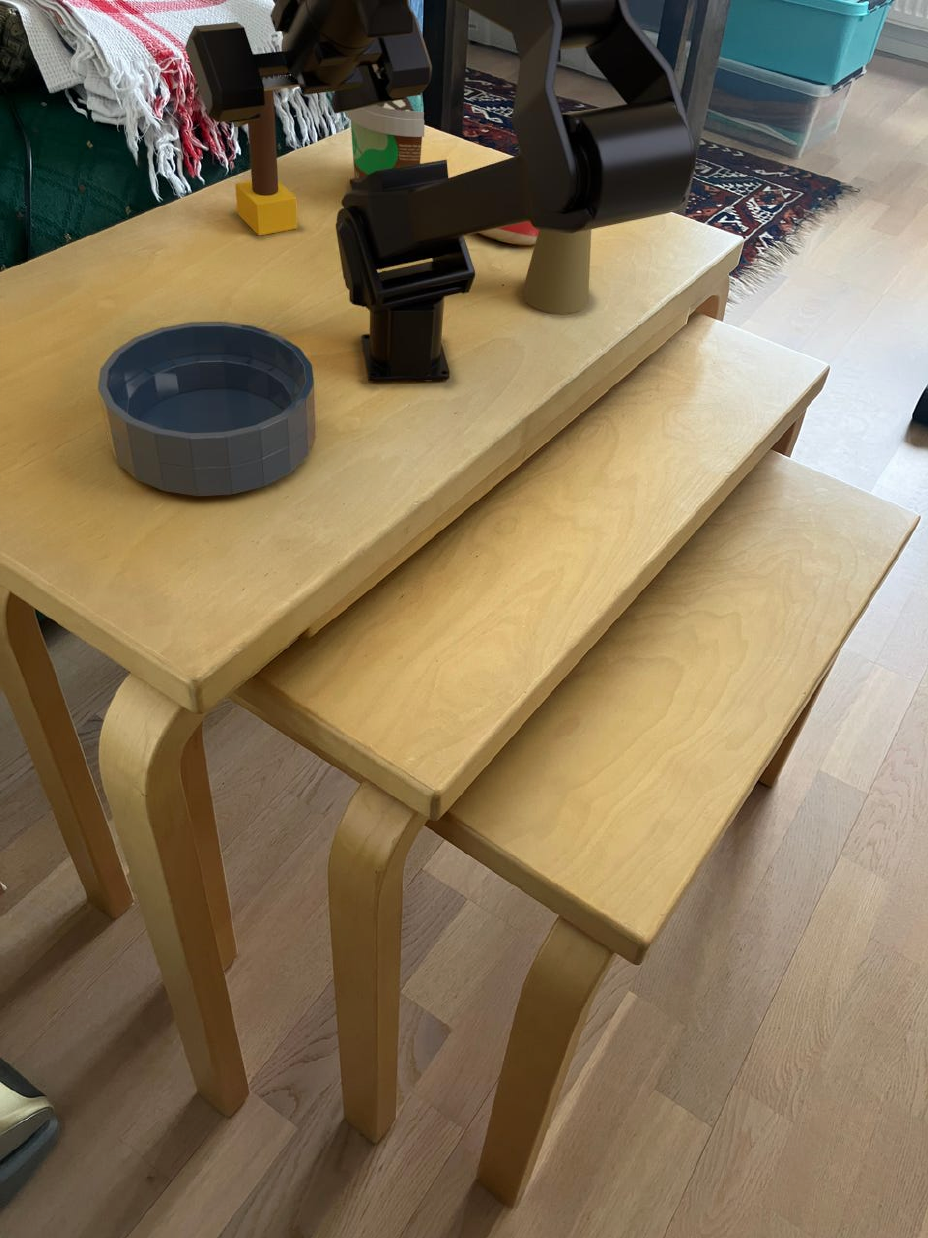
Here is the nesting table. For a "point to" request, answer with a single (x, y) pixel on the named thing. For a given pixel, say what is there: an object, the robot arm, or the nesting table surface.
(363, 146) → the food container
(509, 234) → the ladybug figurine
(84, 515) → the nesting table surface
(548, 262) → the olive brown pawn
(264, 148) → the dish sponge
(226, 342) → the bowl
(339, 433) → the nesting table surface
